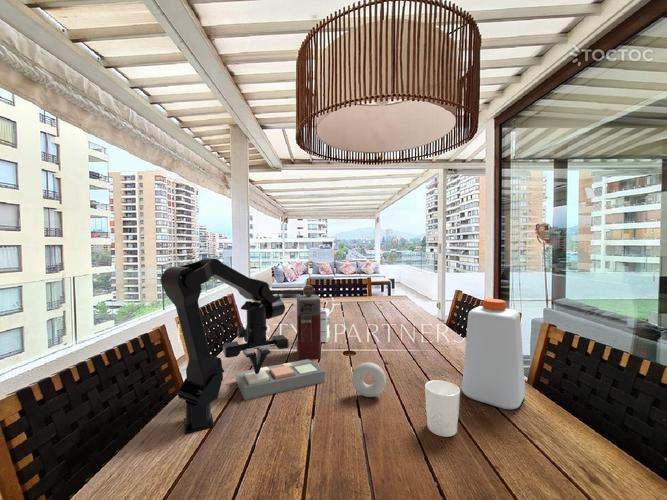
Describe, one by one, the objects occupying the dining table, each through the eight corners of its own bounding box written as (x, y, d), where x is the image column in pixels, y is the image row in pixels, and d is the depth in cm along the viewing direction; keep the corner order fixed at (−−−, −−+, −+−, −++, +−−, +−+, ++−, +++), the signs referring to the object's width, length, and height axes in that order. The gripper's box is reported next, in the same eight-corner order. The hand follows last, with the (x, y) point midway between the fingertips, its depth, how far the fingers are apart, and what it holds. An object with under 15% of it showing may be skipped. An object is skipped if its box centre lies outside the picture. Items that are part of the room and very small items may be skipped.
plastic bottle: (473, 379, 101) (474, 294, 101) (527, 393, 91) (528, 299, 91) (457, 396, 90) (458, 300, 89) (517, 415, 80) (518, 307, 79)
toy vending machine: (297, 362, 116) (297, 287, 115) (297, 351, 127) (296, 283, 126) (321, 360, 117) (321, 287, 116) (318, 350, 128) (318, 283, 128)
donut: (351, 398, 89) (351, 363, 88) (352, 392, 92) (352, 359, 92) (386, 400, 87) (386, 365, 87) (386, 395, 91) (386, 361, 90)
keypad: (324, 382, 99) (324, 371, 99) (244, 400, 87) (244, 388, 87) (308, 367, 111) (308, 357, 111) (236, 381, 99) (236, 371, 99)
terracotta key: (294, 378, 96) (294, 372, 96) (275, 382, 93) (275, 375, 93) (288, 371, 101) (288, 365, 101) (270, 374, 99) (270, 368, 99)
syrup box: (327, 343, 138) (327, 310, 138) (314, 342, 139) (314, 310, 139) (329, 339, 143) (329, 308, 143) (317, 338, 145) (317, 307, 144)
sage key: (317, 376, 100) (317, 370, 100) (300, 379, 97) (300, 373, 97) (310, 369, 105) (310, 363, 105) (293, 372, 102) (293, 366, 102)
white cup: (432, 415, 80) (432, 377, 80) (463, 427, 75) (464, 386, 75) (419, 429, 74) (419, 388, 73) (453, 443, 69) (453, 399, 68)
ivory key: (269, 383, 92) (269, 377, 92) (248, 388, 90) (248, 381, 90) (264, 376, 98) (264, 369, 98) (244, 379, 95) (244, 373, 95)
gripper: (278, 313, 105) (278, 359, 105) (220, 320, 96) (220, 369, 96) (289, 321, 95) (289, 371, 95) (225, 328, 86) (226, 384, 86)
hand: (256, 373), depth 93 cm, fingers closed
